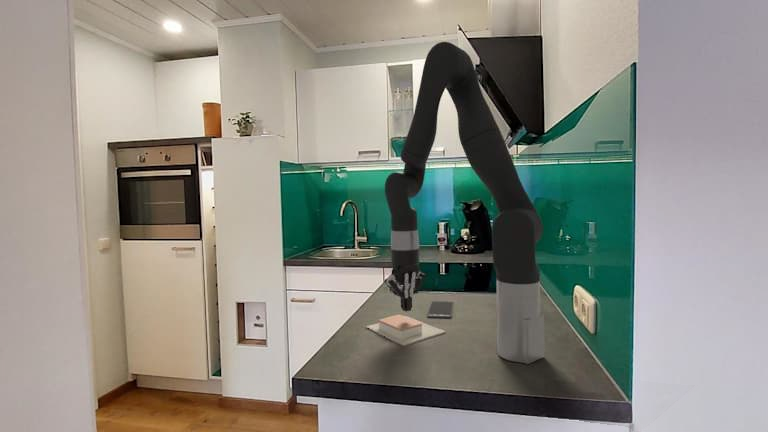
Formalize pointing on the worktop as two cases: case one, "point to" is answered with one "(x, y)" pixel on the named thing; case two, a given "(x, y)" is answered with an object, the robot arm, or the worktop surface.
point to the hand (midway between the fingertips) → (406, 310)
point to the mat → (426, 333)
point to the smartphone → (440, 309)
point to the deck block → (400, 326)
